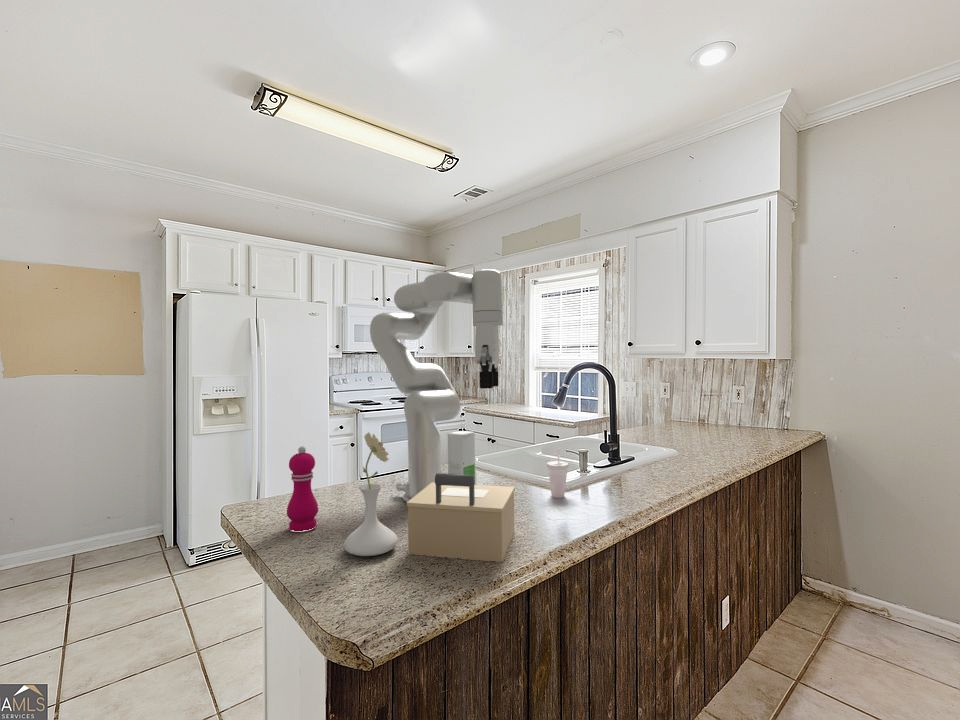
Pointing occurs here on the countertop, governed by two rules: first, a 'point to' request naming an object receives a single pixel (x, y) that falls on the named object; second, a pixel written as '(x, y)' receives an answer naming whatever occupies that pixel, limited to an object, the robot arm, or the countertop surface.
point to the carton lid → (462, 494)
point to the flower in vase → (371, 514)
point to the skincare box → (461, 453)
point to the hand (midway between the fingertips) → (489, 387)
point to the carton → (461, 533)
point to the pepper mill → (302, 492)
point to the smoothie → (557, 476)
